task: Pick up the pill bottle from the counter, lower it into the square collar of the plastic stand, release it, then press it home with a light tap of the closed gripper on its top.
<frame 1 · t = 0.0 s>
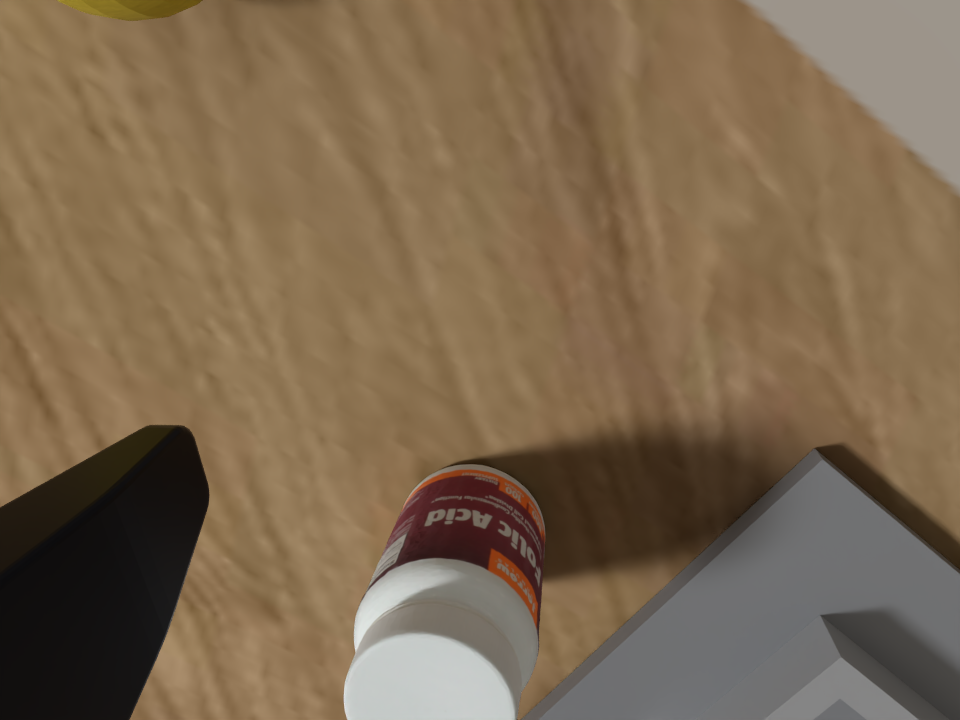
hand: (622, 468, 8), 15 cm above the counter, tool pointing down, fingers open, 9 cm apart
pill bottle: (473, 523, 26), on the counter
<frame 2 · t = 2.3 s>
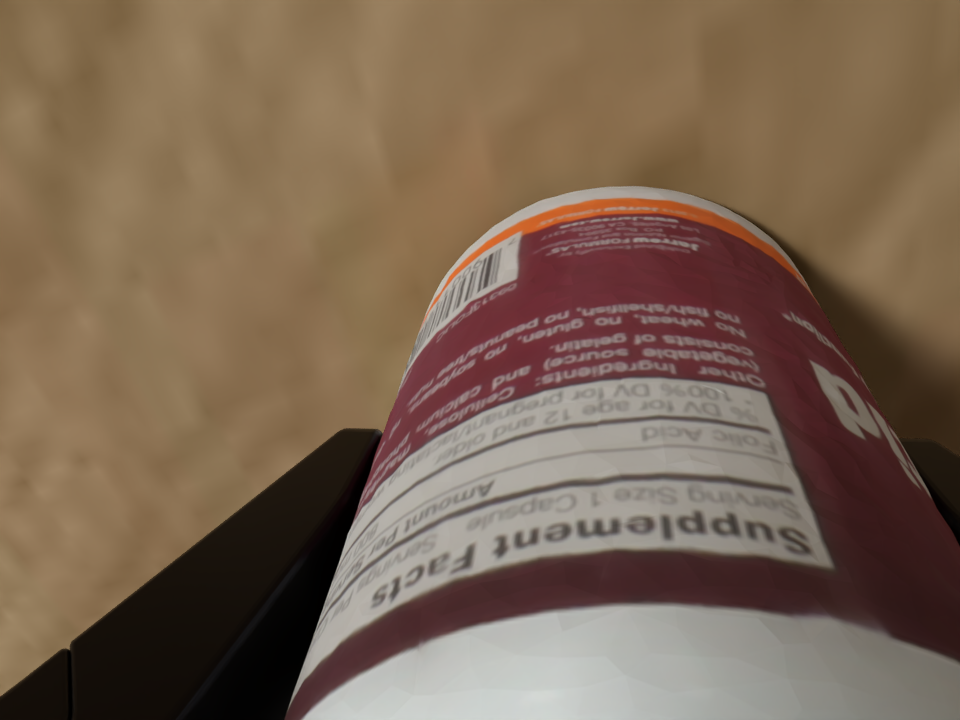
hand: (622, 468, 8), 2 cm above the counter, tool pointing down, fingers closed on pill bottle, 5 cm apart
pill bottle: (613, 352, 10), on the counter, touching gripper
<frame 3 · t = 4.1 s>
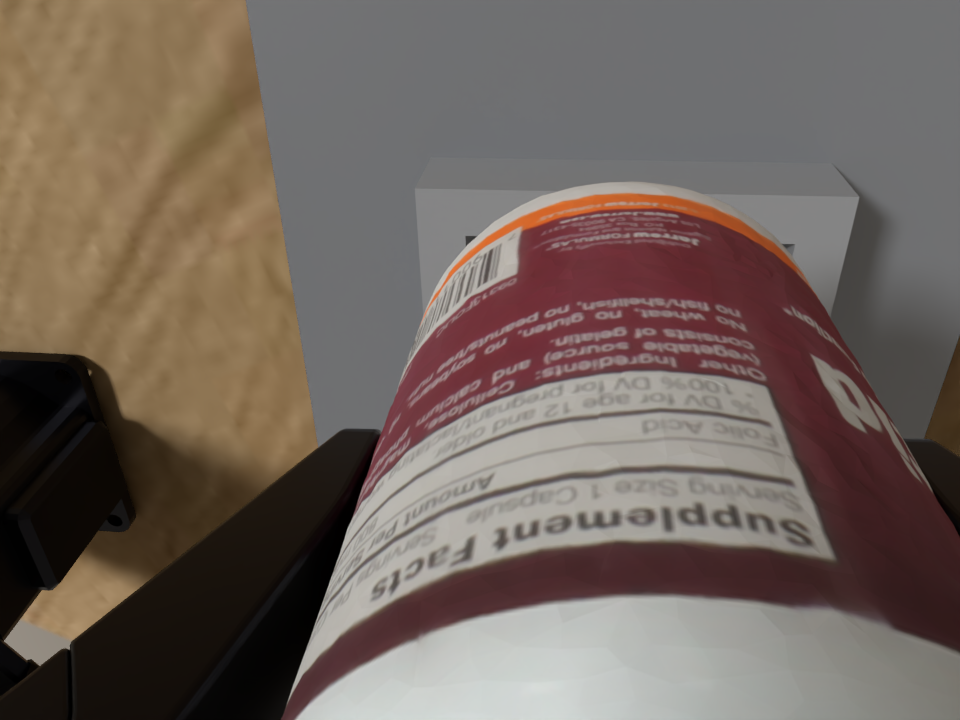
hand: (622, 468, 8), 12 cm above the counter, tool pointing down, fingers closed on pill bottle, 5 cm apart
bottle stand: (611, 316, 20), on the counter
pill bottle: (613, 348, 10), point 9 cm above the counter, touching gripper
when the fingers open (4 cm above the counter, at t = 6.3 s): pill bottle drops 1 cm, resting on bottle stand.
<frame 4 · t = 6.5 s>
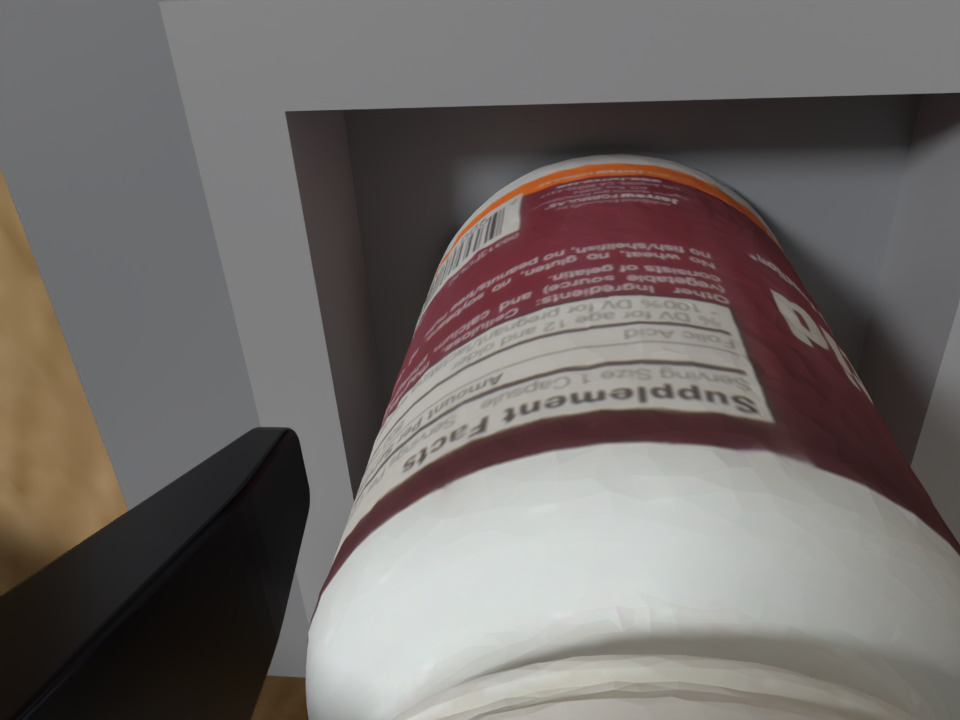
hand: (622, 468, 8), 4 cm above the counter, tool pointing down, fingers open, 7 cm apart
bottle stand: (610, 289, 11), on the counter
pill bottle: (605, 310, 11), point 1 cm above the counter, touching bottle stand
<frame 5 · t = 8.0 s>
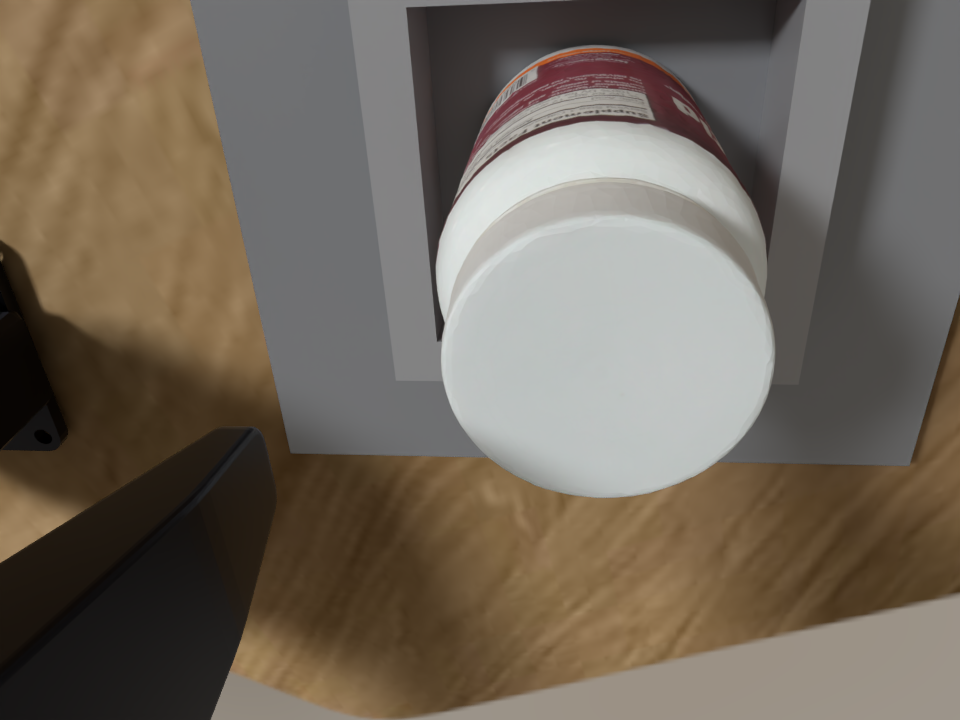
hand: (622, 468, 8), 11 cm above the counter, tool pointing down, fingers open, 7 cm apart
bottle stand: (593, 146, 17), on the counter
pill bottle: (589, 155, 17), point 1 cm above the counter, touching bottle stand
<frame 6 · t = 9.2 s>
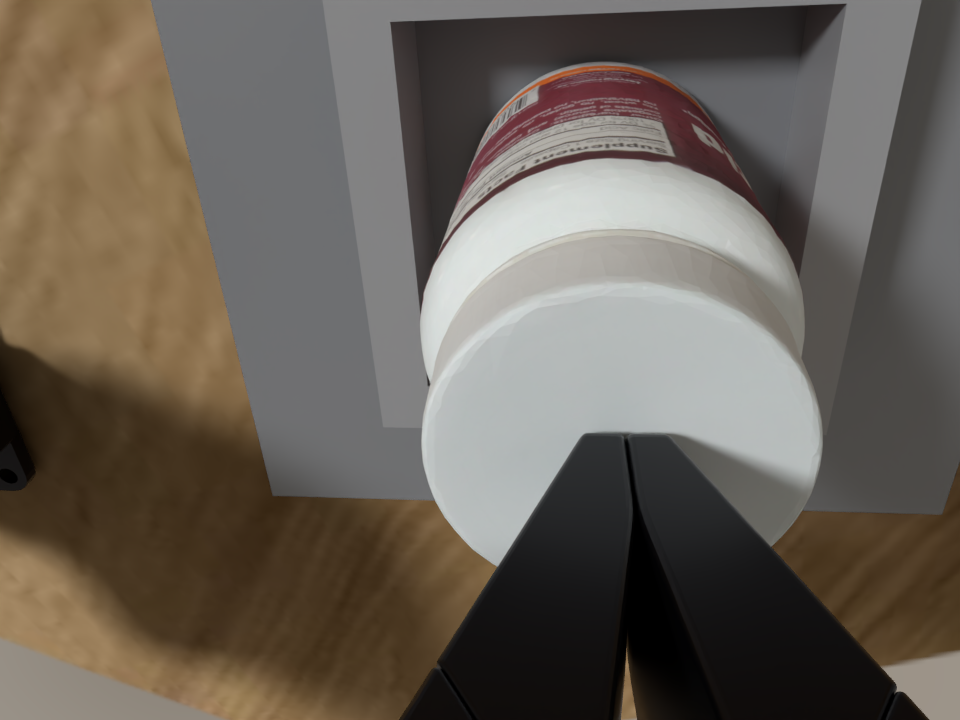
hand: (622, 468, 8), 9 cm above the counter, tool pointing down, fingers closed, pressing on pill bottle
bottle stand: (599, 171, 16), on the counter
pill bottle: (596, 182, 15), point 1 cm above the counter, touching bottle stand, gripper
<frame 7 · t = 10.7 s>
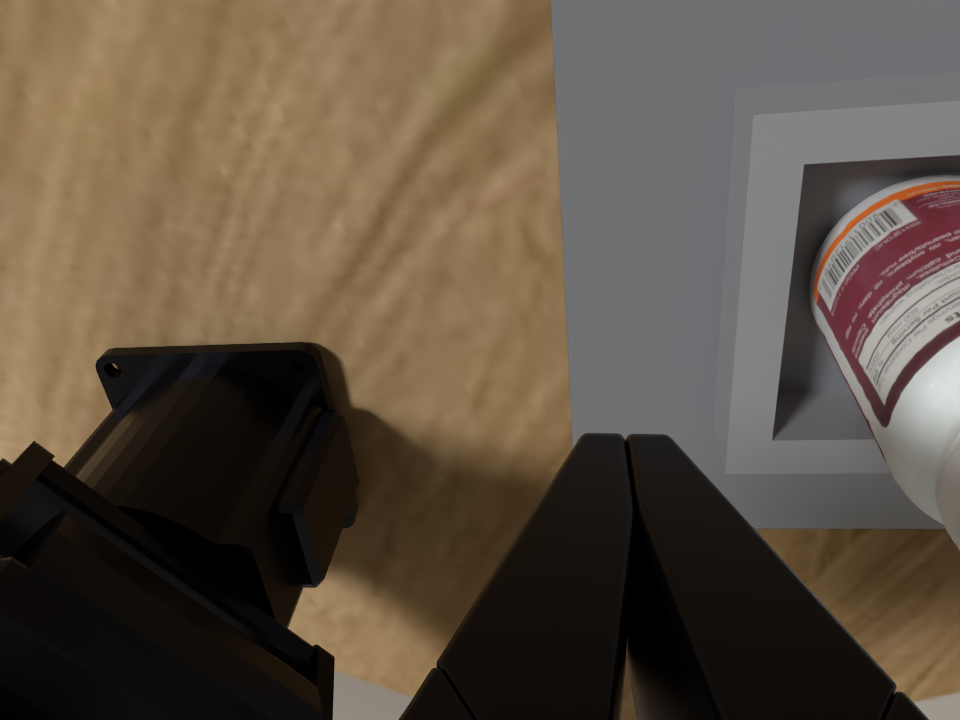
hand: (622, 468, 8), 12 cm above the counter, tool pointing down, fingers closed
bottle stand: (907, 254, 19), on the counter
pill bottle: (912, 265, 18), point 1 cm above the counter, touching bottle stand
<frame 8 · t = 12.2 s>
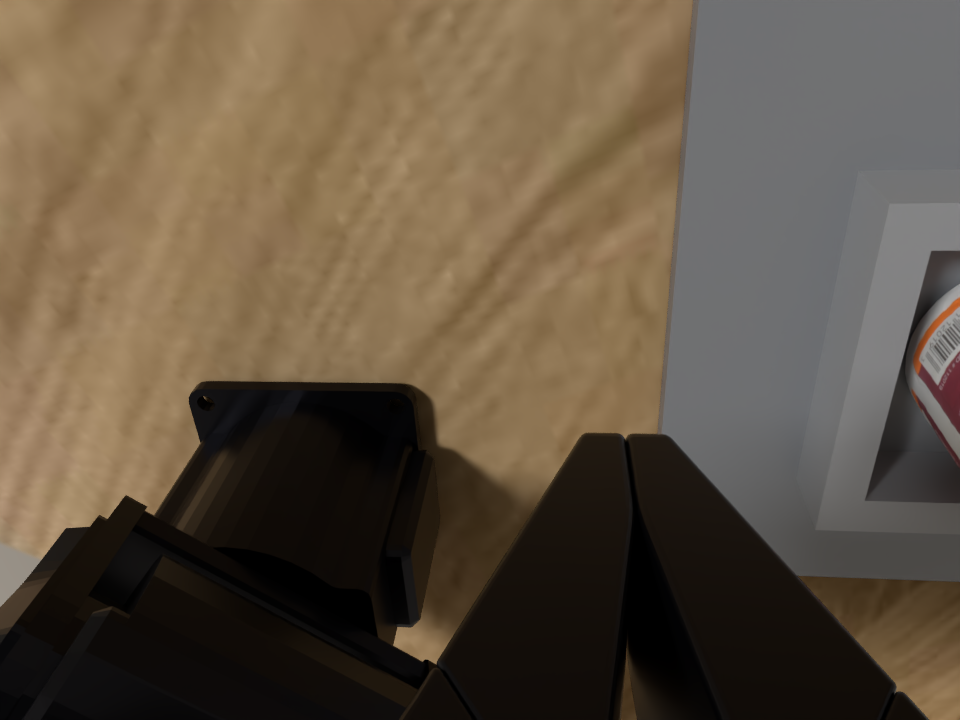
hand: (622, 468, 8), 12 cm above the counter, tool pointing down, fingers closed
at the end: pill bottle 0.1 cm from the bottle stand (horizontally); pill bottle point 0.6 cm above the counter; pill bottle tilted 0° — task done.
